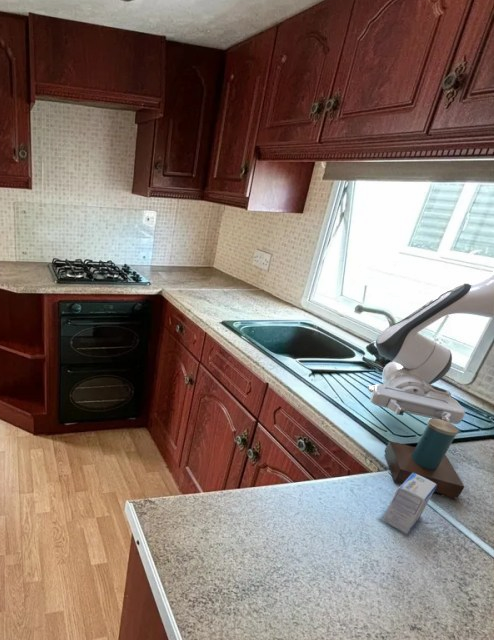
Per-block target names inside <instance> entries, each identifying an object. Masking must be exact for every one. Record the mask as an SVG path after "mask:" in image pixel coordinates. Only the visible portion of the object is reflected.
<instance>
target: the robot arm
mask: <svg viewBox="0 0 494 640" xmlns="http://www.w3.org/2000/svg"><path fill="white" fill-rule="evenodd" d="M455 314H466V315H474V316H478V317H479V316H480V317H484V318H490V319H491V318H493V319H494V271H492V272H491V273H490V274H488V275H487V276H485V277H483V278H481V279H477V280H475V281H474V282H473V281H472V282H469V283H459V284H456V285H454V286H452V287H451V288H448V289H447V290H446V291H444V292H442V293H440V294H439V295H438V296H436V297H434V298H433V299H431V300H430V301H428V302H426V303H425V304H424V305H423V306H421V307H419V308H418V309H417V310H415V311H413V312H412V313H411V314H409V315H408V316H406V317H405V318H403V319H401V320H399V321H397V322H396V323H393V324H392V325H390V326H388V327H386V328H385V329H384V330H383V331H382V332H381V333H379V335H378V336H377V338H376V340H375V345H376V346H375V347H376V351H377V353H378V355H379V356H380V357H382V358H384V359H387V360H388V361H390V362H388V363H387V364H386V365H385V366H384V368H383V369H382V374H381V380H382V381H381V382H382V383H375V384H373V385H371V384H368V385H367V390H368V392H369V393H370V394H369V401H370V403H371V404H373V405H375V406H377V407H381V408H386V409H389V410H391V411H392V412H394V413H395V415H398V416H404V414H405V413H408V414H412V415H416V416H420V417H425V418H427V419H440V420H444V421H447V422H449V423H451V424H453V425H458V424H460V423H461V422H462V421H463V419H464V417H465V415H466V410H465V409H464V407H463V405H461V404H460V403H459V402H458V400H457V399H455V398H453V397H452V393H451V391H449V390H447V389H444V388H442V387H438V386H435V385H433V384H435V383H437V382H439V380H441V379H442V378H444V377H445V376H446V375H447V374H448V372H449V371H450V370H451V367H452V362H453V354H452V351H451V350H450V349H448V348H447V347H445V346H443V345H442V344H440V343H438V342H437V341H434V340H432V339H430V338H428V337H426V336H424V335H423V334H421V333H419V332H421V331H422V330H425V329H426V328H427V327H429V326H430V325H432V324H433V323H435V322H437V321H439V320H440V319H442V318H444V317H446V316H448V315H455Z"/></svg>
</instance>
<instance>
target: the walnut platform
mask: <svg viewBox="0 0 494 640" xmlns="http://www.w3.org/2000/svg"><path fill="white" fill-rule="evenodd" d="M415 448H416V446H411V445H407V444H403V443H399V442H397V441H391V440H388V443H387V445H386V446H385V449H384V458H385V461H386V463H387V466H388V469H389V472H390V475H391V478H392V480H393V483H395V484H398V485H402V484H403V483H404V482H405V481H406V480H407V479H408V477H409V476H410V475H411V474H412V473H415V474H418V475H420V476H422V477H424V478H426V479H428V480H430V481H432V482H434V483H436V484H437V487H436V489H435V490H434V492H433V493H438V494H440V495H441V497H445V498H449V499H452V500H455V499H459V497H460V495H461V494H462V492H463V490H464V488H465V485H464V483H463V481H462V480H461V478H460V476H459V475H458V473H457V471H456V470H455V468H454V466H453V464H452V463H451V461H450V460H449V458H448V456H447V454H445V456H444V457H443V459H442V461H441V463H440V465H439V466H438V468H437V469H427V468H424V467H422V466H420V465H418V464H416V463H415V462H414V461H413V460H412V459H411V456H412V454H413V452H414V450H415Z"/></svg>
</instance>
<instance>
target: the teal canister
mask: <svg viewBox="0 0 494 640" xmlns="http://www.w3.org/2000/svg"><path fill="white" fill-rule="evenodd" d="M459 431H460V429H459V428H458V427H457V426H456V425H455V424H453V423H449V422H447V421H444V420H440V419H432V418H429V419H428V421H427V425H426V426H425V428H424V430H423V432H422V434H421V436H420V438H419V440H418V442H417V445H416V446H415V450H414V452H413V454H412V456H411V459H412V460H413V461H414V462H415V463H416V464H418V465H420V466H422V467H424V468H427V469H437V468H438V466H439V465H440V463H441V461H442V459H443V457H444V456H445V455H447V452H448V450H449V448H450V447H451V445H452V443H453V441H454V440H455V438H456V436H457V435H458V433H459Z"/></svg>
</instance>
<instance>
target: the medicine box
mask: <svg viewBox="0 0 494 640" xmlns="http://www.w3.org/2000/svg"><path fill="white" fill-rule="evenodd" d="M436 487H437V484H436V483H434V482H432V481H430V480H428V479H426V478H424V477H422V476H420V475H418V474H415V473H412V474H411V475H410V476H409V477H408V479H407V480H406V481H405V482H404V483H403V484H400V486H399V487H398V488H397V489H396V492H395V493H394V496H393V498H392V500H391V501H390V503H389V506H388V507H387V510H386V512H385V513H384V516H383V518H382V521H384V522H385V523H387V524H388V525H390V526H392V527H393V528H396V529H397V530H399V531H401V532H402V533H404V534H406V535H407V534H408V533H410V531H411V530H412V528H413V527H414V525H415V524H416V522H417V521H418V520H419V518H420V517H421V516H422V513H423V512H424V510H425V509H426V507H427V505H428V503H429V501H430V500H431V497H432V495H434V493H435V492H434V490H435V489H436Z"/></svg>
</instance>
